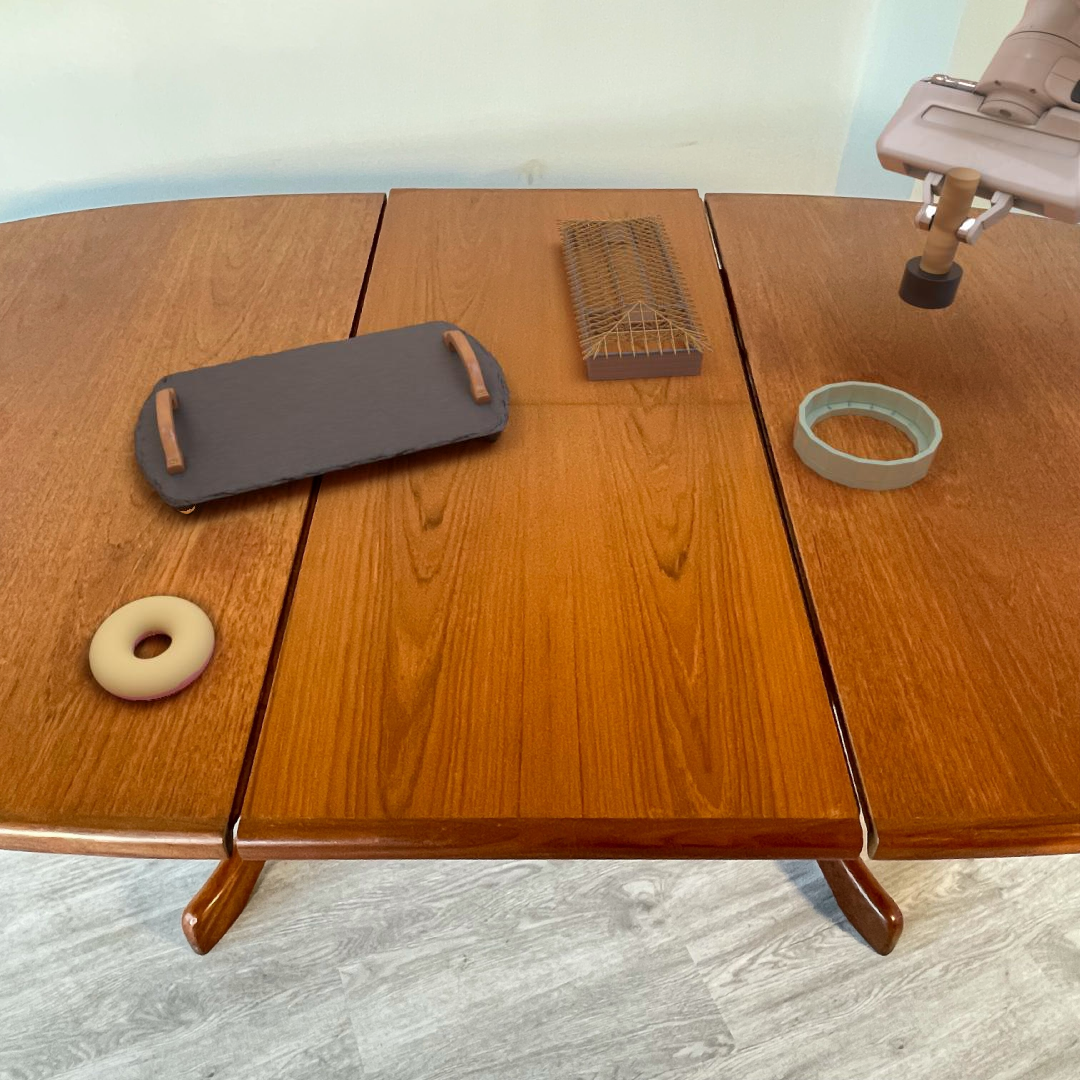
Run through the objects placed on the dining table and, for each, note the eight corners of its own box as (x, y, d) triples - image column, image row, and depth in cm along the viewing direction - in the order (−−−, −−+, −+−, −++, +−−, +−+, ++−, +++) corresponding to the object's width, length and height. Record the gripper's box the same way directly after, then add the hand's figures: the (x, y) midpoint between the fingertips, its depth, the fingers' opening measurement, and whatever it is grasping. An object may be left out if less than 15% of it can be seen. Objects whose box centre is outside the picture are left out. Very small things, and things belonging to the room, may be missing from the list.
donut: (197, 618, 78) (84, 657, 73) (186, 575, 75) (68, 612, 71) (236, 679, 71) (114, 727, 66) (226, 634, 68) (98, 680, 64)
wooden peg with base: (950, 285, 88) (990, 163, 79) (957, 311, 84) (1000, 186, 76) (895, 281, 88) (930, 160, 80) (900, 307, 85) (937, 183, 76)
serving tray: (146, 536, 82) (123, 486, 78) (138, 401, 98) (119, 353, 93) (535, 443, 91) (534, 393, 87) (471, 333, 107) (467, 286, 102)
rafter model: (709, 378, 99) (716, 330, 95) (582, 385, 98) (583, 337, 94) (658, 238, 124) (661, 195, 120) (556, 243, 123) (556, 200, 119)
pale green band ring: (919, 428, 92) (933, 388, 88) (933, 512, 82) (950, 471, 79) (789, 415, 94) (798, 375, 90) (789, 496, 85) (799, 455, 81)
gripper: (916, 50, 82) (836, 186, 84) (1148, 99, 71) (1051, 254, 73) (926, 89, 87) (851, 216, 89) (1144, 141, 77) (1053, 284, 79)
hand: (943, 234), depth 81 cm, fingers closed on wooden peg with base, 3 cm apart
